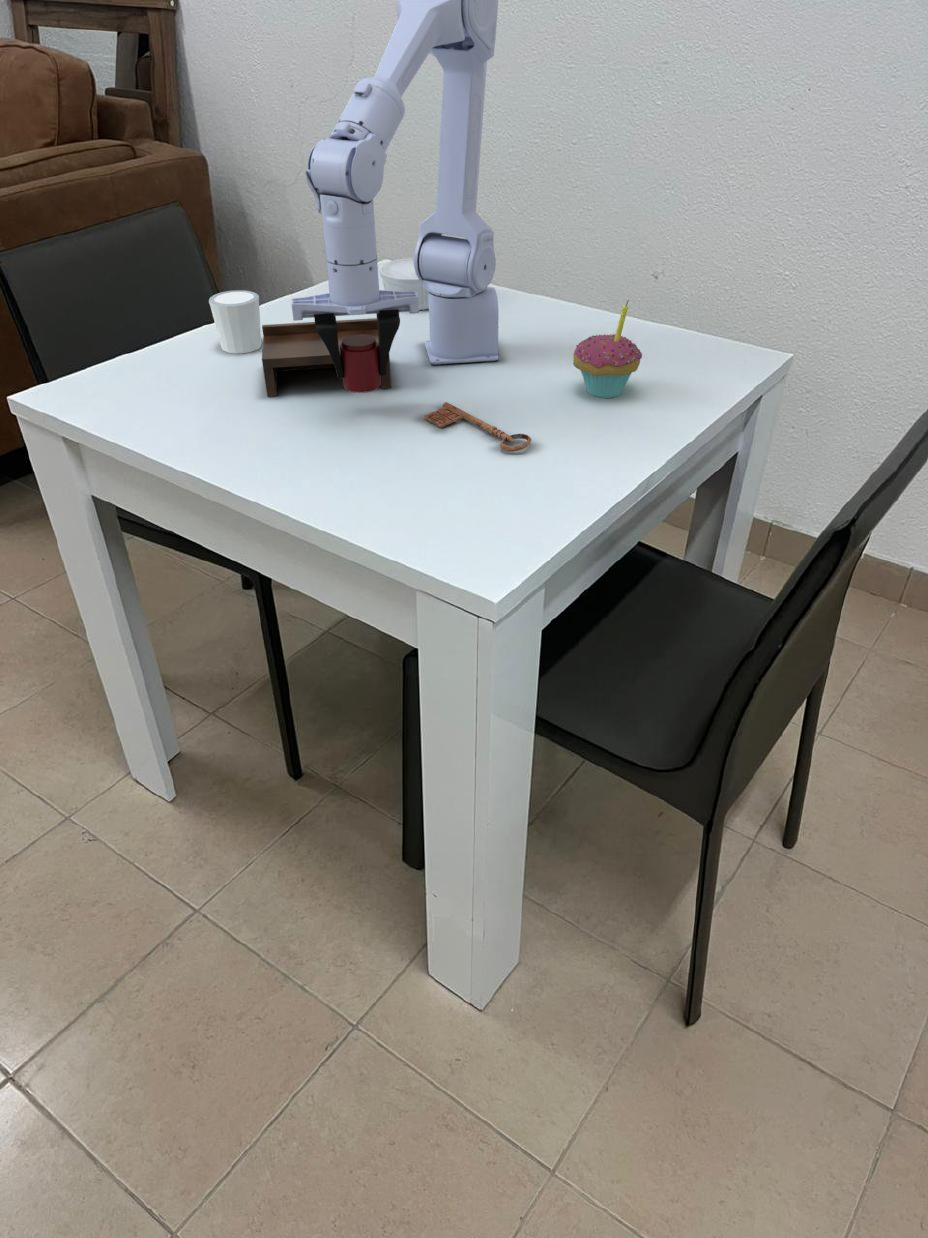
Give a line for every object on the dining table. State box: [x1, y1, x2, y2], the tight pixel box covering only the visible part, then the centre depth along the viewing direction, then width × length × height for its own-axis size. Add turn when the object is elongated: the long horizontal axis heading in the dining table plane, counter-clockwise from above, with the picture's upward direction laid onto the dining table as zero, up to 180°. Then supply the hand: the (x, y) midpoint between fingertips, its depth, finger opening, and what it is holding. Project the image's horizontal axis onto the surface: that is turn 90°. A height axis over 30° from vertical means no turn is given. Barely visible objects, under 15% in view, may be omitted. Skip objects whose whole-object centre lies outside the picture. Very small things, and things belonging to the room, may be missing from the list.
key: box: [423, 401, 532, 452], centre depth 109 cm, size 6×1×15 cm
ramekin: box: [379, 257, 429, 311], centre depth 146 cm, size 11×11×5 cm
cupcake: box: [572, 299, 643, 399], centre depth 115 cm, size 9×8×12 cm
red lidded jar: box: [340, 334, 382, 393], centre depth 111 cm, size 5×5×6 cm
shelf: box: [261, 317, 392, 398], centre depth 121 cm, size 16×9×6 cm, turn 99°
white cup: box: [208, 289, 262, 355], centre depth 130 cm, size 7×7×7 cm
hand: (361, 373), depth 112 cm, fingers closed on red lidded jar, 4 cm apart
